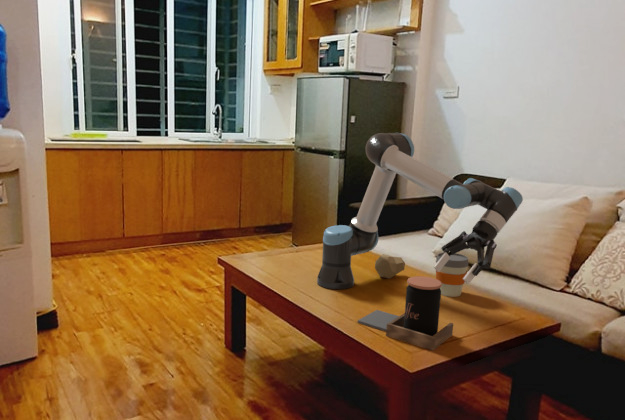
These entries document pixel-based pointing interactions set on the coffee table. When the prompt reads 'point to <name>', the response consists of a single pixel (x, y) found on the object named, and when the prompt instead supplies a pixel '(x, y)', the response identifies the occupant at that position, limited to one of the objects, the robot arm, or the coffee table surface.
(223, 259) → the coffee table surface
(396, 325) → the walnut holder
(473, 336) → the coffee table surface
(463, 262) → the reusable coffee cup
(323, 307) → the coffee table surface
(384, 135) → the robot arm
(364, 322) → the charcoal mat
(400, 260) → the low-poly potato
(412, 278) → the coffee jar
